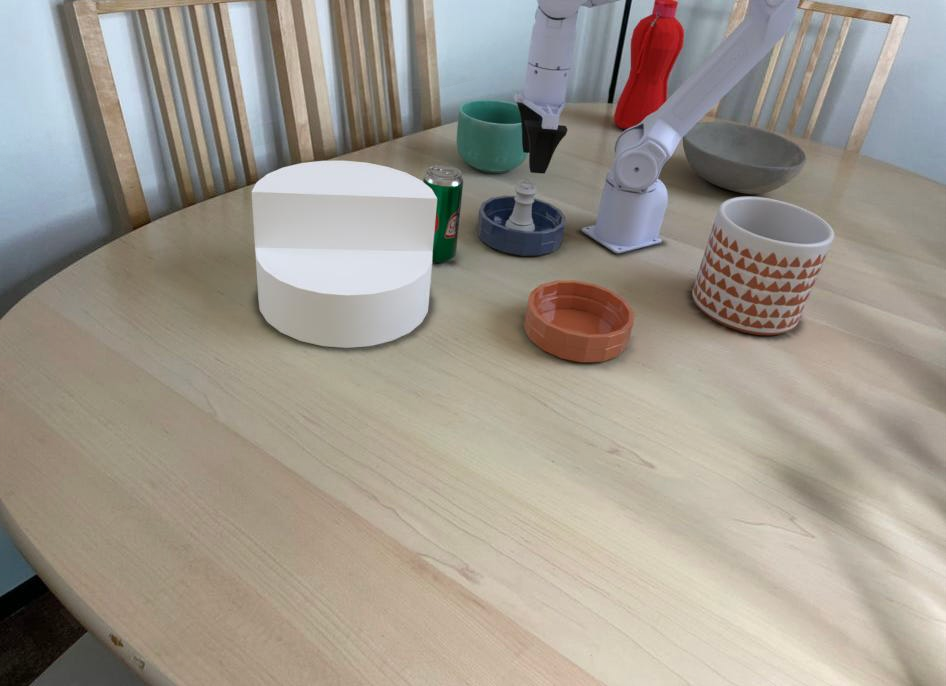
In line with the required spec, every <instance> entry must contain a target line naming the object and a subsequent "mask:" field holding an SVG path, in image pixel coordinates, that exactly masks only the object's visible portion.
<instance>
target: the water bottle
mask: <svg viewBox="0 0 946 686" xmlns="http://www.w3.org/2000/svg"><path fill="white" fill-rule="evenodd" d="M678 4H679V1H676V0H654V2H653V8H652V12H651V14H649V15H648V16H646V17H643V18H641V19H640V20H639V22H638V23H637V24H636V25H635V27H634V29H633V31H632V34H631V39H630V70H629V75H628V78H627V80H626V83H625V84H624V87H623V90H622V92H621V93H620V96H619V97H618V100H617V104H616V107H615V111H614V115H613V122H614V124H615V126H616V127H617V128H619V129H622V130H624V131H625V130H626V129H628V128H631V127H633V126H636V125H638V124H639V123H641V122H642V121H643V120H644V119H645V118H646V117H647V116H648V115H650V114H651V113H653V112H655V111H657V110H658V109H659V108H660V107H661V106H662V105H663V104H664V103H665V102H666V101H667V100H668V81H669V78H670V74H671V72H672V70H673V68H674V66H675V64H676V62H677V60H678V58H679V55H680V53H681V52H682V49H683V47H684V41H685V29H684V27H683V25H682V24H681V22H680V21H679V20H678V19H677V18H676V12H677V8H678Z"/></svg>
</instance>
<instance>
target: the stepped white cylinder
mask: <svg viewBox="0 0 946 686" xmlns="http://www.w3.org/2000/svg"><path fill="white" fill-rule="evenodd" d="M251 205H252V208H251V209H252V221H253V222H252V223H253V237H254V253H255V267H256V284H257V298H258V299H257V300H258V309H259V312H260V313H261V314H262V317H263V318H264V319H265V321H266V322H267V323H268V325H270V326H272V327H273V328H275V329H276V330H277V331H278V332H280V333H281V334H283V335H286V336H288V337H290V338H292V339H295V340H297V341H299V342H304V343H307V344H312V345H316V346H319V347H320V346H321V347H328V348H329V347H331V348H343V349H349V348H350V349H351V348H362V347H364V348H365V347H373V346H376V345H382V344H386V343H388V342H393V341H395V340H397V339H399V338H402V337H403V336H406V335H409V334H410V333H411V332H412V331H414V330H415V329H416V328H417V327H418V326H420V325H421V324H422V323H423V321H424V320H425V317H426V316H427V314H428V312H429V303H430V292H431V281H432V272H433V271H432V270H433V269H432V268H433V262H432V256H433V242H434V231H435V219H436V208H437V197H436V195H435V194H434V192H433V190H432V189H431V188H430V187H429V186H427V185H426V184H425V183H424V182H423V180H422V179H419V178H417V177H415V176H413V175H411V174H409V173H408V172H406V171H402V170H399V169H396V168H392V167H389V166H386V165H381V164H375V163H371V162H365V161H364V162H363V161H353V160H316V161H308V162H300V163H296V164H292V165H288V166H284V167H281V168H278V169H276V170H273V171H271V172H269V173H267V174H265V175H264V176H263V177H262V178H260V179H259V180H258V181H256V182H255V184H254V186H253V188H252V190H251Z"/></svg>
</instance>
